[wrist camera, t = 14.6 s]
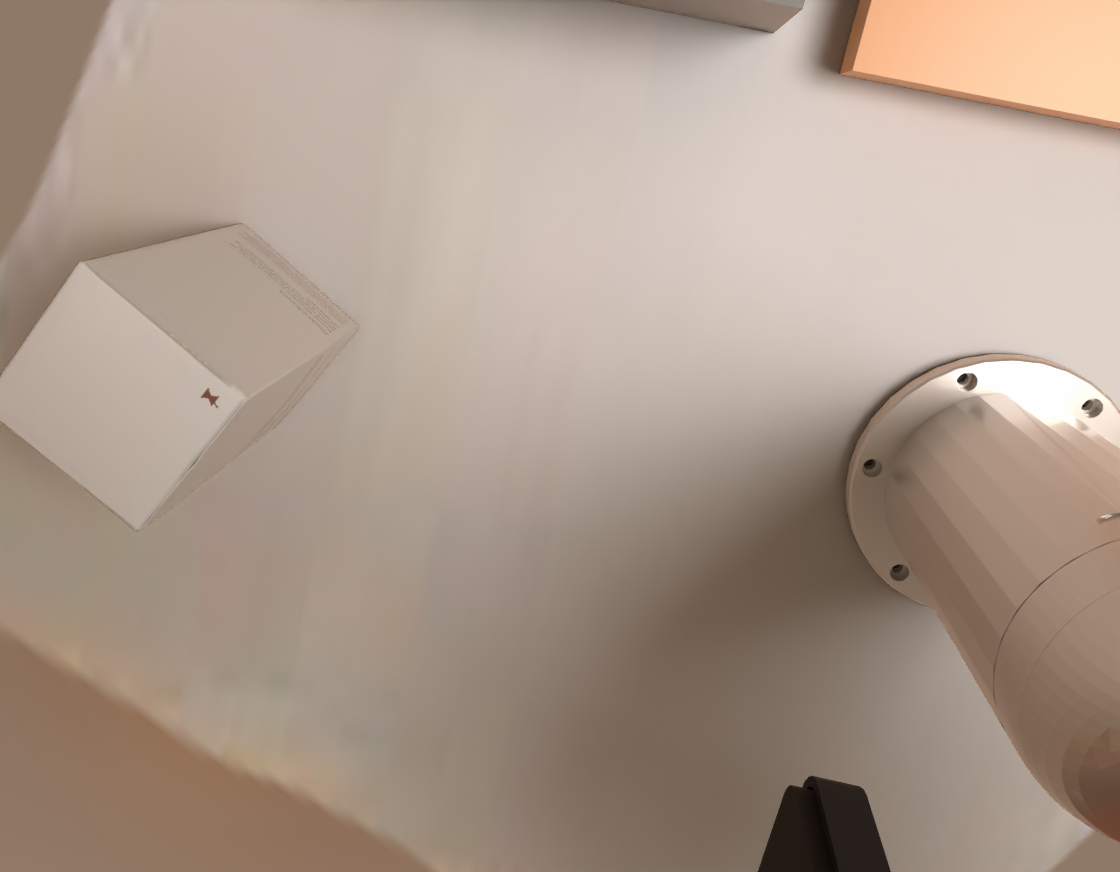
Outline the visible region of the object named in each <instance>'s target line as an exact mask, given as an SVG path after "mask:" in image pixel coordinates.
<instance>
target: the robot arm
mask: <svg viewBox="0 0 1120 872" xmlns="http://www.w3.org/2000/svg"><path fill="white" fill-rule="evenodd" d="M963 373H966V378H965V380H964V381H962V382H957V379H958V377H959V376H960V375H961V374H963ZM1087 400H1089V402H1088V404H1087V406H1085V407H1083V408H1082V405H1083V404H1084V403H1085V402H1086V401H1087ZM870 459H873V463H872V465H870V466H865V465H864V463H865V462H866V461H868V460H870ZM846 506H847V514H848V517H849V521H850V525H851V528H852V532H853V534H854V536H855V538H856V540H857V543H858V545H859V547H860V549H861V551H862V553H863V554H864V556H865V557H866V559H867V560H868V562H869V563H870V565H871V566H872V568H873V569H874V571H875V572H876V573H877V574H878V575H879V576H880V577H881V578H882V579H883V580H884V581H885V582H886V583H887V584H888V585H890V586H891V587H892V588H894V589H895V590H897V591H898V592H900V593H901V594H903V595H905V596H906V597H908V598H909V599H911V600H913V601H915V602H918V603H920V604H923V605H925V606H927V607H930V608H932V609H935V611H936V613H937V614H938V616H939V618H940V620H941V621H942V623H943V625H944V627H945V628H946V630H947V632H948V633H949V635H950V637H951V639H952V640H953V642H954V644H955V646H956V647H957V649H958V651H959V652H960V654H961V656H962V658H963V659H964V661H965V663H966V665H967V666H968V668H969V670H970V671H971V673H972V675H973V677H974V678H975V680H976V682H977V684H978V685H979V687H980V689H981V690H982V692H983V694H984V696H985V697H986V699H987V701H988V703H989V704H990V706H991V708H992V709H993V711H994V713H995V715H996V716H997V718H998V720H999V722H1000V723H1001V725H1002V727H1003V728H1004V730H1005V731H1006V733H1007V735H1008V737H1009V739H1010V740H1011V742H1012V744H1013V745H1014V747H1015V749H1016V751H1017V752H1018V754H1019V756H1020V757H1021V759H1022V760H1023V762H1024V764H1025V765H1026V767H1027V768H1028V770H1029V771H1030V772H1031V774H1032V775H1033V777H1034V778H1035V779H1036V780H1037V782H1038V783H1039V784H1040V785H1041V786H1042V788H1043V789H1044V790H1045V791H1046V792H1047V793H1048V794H1049V795H1050V796H1051V797H1052V798H1053V799H1054V800H1055V801H1056V802H1057V803H1058V804H1059V805H1060V806H1061V807H1063V808H1064V809H1065V810H1067V811H1068V812H1069V813H1070V814H1072V815H1073V816H1074V817H1076V818H1077V819H1079V820H1080V821H1082V822H1083V823H1085V824H1086V825H1088V826H1089V827H1091V828H1092V829H1094V830H1096V831H1097V832H1099V833H1101V834H1103V835H1105V836H1107V837H1109V838H1111V839H1113V840H1115V841H1117V842H1120V411H1119V410H1118V408H1117V407H1116V405H1115V404H1114V403H1113V401H1112V400H1111V399H1110V398H1109V397H1108V396H1107V395H1105V394H1104V393H1103V392H1102V391H1101V390H1100V389H1099V388H1097V387H1096V386H1095V385H1094V384H1093V383H1092V382H1090V381H1088V380H1087V379H1085V378H1083V377H1082V376H1080V375H1078V374H1077V373H1075V372H1074V371H1072V370H1069V369H1067V368H1065V367H1062V366H1060V365H1058V364H1055V363H1053V362H1050V361H1048V360H1044V359H1039V358H1034V357H1030V356H1025V355H1017V354H989V355H982V356H976V357H969V358H963V359H960V360H957V361H954V362H951V363H949V364H946V365H943V366H940V367H937V368H935V369H933V370H931V371H929V372H927V373H925V374H924V375H922V376H920V377H918V378H916V379H914V380H912V381H911V382H910V383H908V384H907V385H906V386H905V387H903V388H902V389H901V390H899V391H898V392H897V393H896V394H894V395H893V396H892V397H890V398H889V399H888V401H887V402H886V403H885V404H884V405H883V406H882V407H881V408H880V409H879V411H878V412H877V413H876V414H875V415H874V416H873V417H872V418H871V420H870V422H869V423H868V425H867V427H866V428H865V430H864V431H863V433H862V435H861V436H860V438H859V440H858V442H857V445H856V447H855V450H854V453H853V455H852V458H851V461H850V463H849V469H848V475H847V482H846ZM897 564H900V565H899V567H897V568H892V567H893V566H895V565H897ZM758 872H891V871H890V868H889V865H888V862H887V859H886V855H885V852H884V849H883V846H882V843H881V839H880V836H879V833H878V830H877V827H876V824H875V820H874V817H873V814H872V811H871V808H870V805H869V801H868V798H867V795H866V793H865V791H864V789H862V788H861V787H859V786H855V785H850V784H846V783H841V782H837V781H833V780H828V779H824V778H819V777H815V776H810V777H808V778H807V780H806V781H805V782H804V785H803V787H797V786H793V785H790V786H788V788H787V789H786V791H785V793H784V796H783V799H782V802H781V805H780V808H779V811H778V814H777V817H776V820H775V823H774V826H773V828H772V831H771V834H770V837H769V840H768V843H767V846H766V849H765V852H764V855H763V858H762V861H761V864H760V867H759V870H758Z"/></svg>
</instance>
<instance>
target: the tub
mask: <svg viewBox="0 0 1120 872" xmlns="http://www.w3.org/2000/svg"><path fill="white" fill-rule="evenodd" d="M609 1H614V2H619V3H624V4H629V5H634V6H639V7H644V8H649V9H654V10H659V11H664V12H669V13H674V14H679V15H684V16H689V17H695V18H700V19H705V20H710V21H715V22H720V23H725V24H730V25H735V26H740V27H745V28H750V29H755V30H760V31H765V32H770V33H774V32H775V31H777V30H778V29H779V28H780V27H781V26H783V25H784V24H785V23H786V22H787V21H789V20H790V19H791V18H792V17H793V16H795V15H796V14H797V13H798V12H799V11H801V10H802V9H803V5H804V1H805V0H609Z"/></svg>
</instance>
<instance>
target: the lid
mask: <svg viewBox="0 0 1120 872" xmlns="http://www.w3.org/2000/svg"><path fill="white" fill-rule="evenodd" d="M840 75H845V76H850V77H855V78H860V79H865V80H870V81H876V82H881V83H886V84H891V85H896V86H901V87H906V88H911V89H916V90H921V91H926V92H932V93H937V94H942V95H947V96H952V97H957V98H962V99H967V100H972V101H977V102H983V103H988V104H993V105H998V106H1003V107H1008V108H1013V109H1018V110H1023V111H1028V112H1034V113H1039V114H1044V115H1049V116H1054V117H1059V118H1064V119H1069V120H1074V121H1079V122H1085V123H1090V124H1095V125H1100V126H1105V127H1110V128H1115V129H1120V0H859V3H858V7H857V11H856V14H855V18H854V22H853V26H852V29H851V33H850V37H849V40H848V44H847V48H846V51H845V55H844V59H843V63H842V66H841V70H840Z"/></svg>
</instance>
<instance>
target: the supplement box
mask: <svg viewBox="0 0 1120 872" xmlns="http://www.w3.org/2000/svg"><path fill="white" fill-rule="evenodd" d="M358 329H359V327H358V325H357V324H355V323H354V322H353V321H352V320H351V319H350V318H349V317H348V316H347V315H346V314H344V313H343V312H342V311H341V310H340V309H339V308H338V307H337V306H336V305H334V304H333V303H332V302H331V301H330V300H329V299H328V298H327V297H325V296H324V295H323V294H322V293H321V292H320V291H319V290H318V289H317V288H316V287H314V286H313V285H312V284H311V283H310V282H309V281H307V280H306V279H305V278H304V277H303V276H302V275H301V274H300V273H299V272H298V271H296V270H295V269H294V268H293V267H292V266H291V265H290V264H288V263H287V262H286V261H285V260H284V259H283V258H282V257H281V256H279V255H278V254H277V253H276V252H275V251H274V250H273V249H271V248H270V247H269V246H268V245H267V244H266V243H265V242H264V241H263V240H262V239H260V238H259V237H258V236H257V235H256V234H254V233H253V232H252V231H251V230H250V229H249V228H247V227H246V226H245V225H243V224H236V225H232V226H228V227H224V228H220V229H215V230H211V231H207V232H203V233H199V234H195V235H191V236H186V237H182V238H178V239H174V240H170V241H166V242H162V243H158V244H154V245H149V246H145V247H141V248H137V249H133V250H129V251H125V252H120V253H116V254H112V255H108V256H103V257H99V258H95V259H91V260H86V261H80V262H79V263H78V264H77V265H76V267H75V268H74V270H73V271H72V272H71V274H70V275H69V277H68V278H67V280H66V281H65V283H64V284H63V285H62V287H61V288H60V289H59V291H58V292H57V294H56V295H55V297H54V298H53V300H52V301H51V302H50V304H49V305H48V307H47V308H46V310H45V311H44V313H43V314H42V315H41V317H40V318H39V320H38V321H37V323H36V324H35V326H34V327H33V329H32V330H31V331H30V333H29V334H28V336H27V337H26V339H25V340H24V342H23V343H22V344H21V346H20V347H19V349H18V350H17V352H16V353H15V355H14V356H13V358H12V359H11V361H10V362H9V364H8V365H7V366H6V368H5V369H4V371H3V372H2V374H1V375H0V421H1V422H2V423H3V424H5V425H6V426H7V427H8V428H10V429H11V430H12V431H13V432H15V433H16V434H17V435H18V436H20V437H21V438H22V439H23V440H25V441H26V442H27V443H28V444H30V445H31V446H32V447H33V448H35V449H36V450H37V451H38V452H39V453H41V454H42V455H43V456H44V457H46V458H47V459H48V460H49V461H51V462H52V463H53V464H54V465H56V466H57V467H58V468H59V469H61V470H62V471H63V472H64V473H66V474H67V475H68V476H70V477H71V478H72V479H73V480H75V481H76V482H77V483H79V484H80V485H81V486H82V487H83V488H84V489H86V490H87V491H88V492H89V493H90V494H91V495H93V496H94V497H95V498H96V499H97V500H99V501H100V502H101V503H102V504H103V505H104V506H106V507H107V508H108V509H109V510H110V511H112V512H113V513H114V514H115V515H116V516H118V517H119V518H120V519H121V520H123V521H124V522H125V523H126V524H127V525H128V526H129V527H131V528H132V529H133V530H134V531H140V530H142V529H144V528H145V527H146V526H148V525H149V524H150V523H152V522H153V521H155V520H156V519H157V518H159V517H160V516H162V515H163V514H164V513H166V512H167V511H168V510H170V509H171V508H172V507H173V506H175V505H176V504H177V503H179V502H180V501H181V500H182V499H184V498H185V497H186V496H188V495H189V494H190V493H191V492H193V491H194V490H195V489H196V488H198V487H199V486H200V485H201V484H203V483H204V482H205V481H206V480H208V479H209V478H210V477H212V476H213V475H214V474H215V473H217V472H218V471H219V470H221V469H222V468H223V467H224V466H226V465H227V464H228V463H229V462H231V461H232V460H233V459H234V458H236V457H237V456H238V455H240V454H241V453H242V452H243V451H245V450H246V449H247V448H248V447H250V446H251V445H252V444H254V443H255V442H257V441H258V440H259V439H261V438H262V437H263V436H265V435H266V434H267V433H269V432H270V431H271V430H272V429H274V428H275V427H276V426H277V425H278V424H279V423H280V422H281V420H282V419H283V418H284V417H285V416H286V415H287V414H288V413H289V412H290V410H291V409H292V408H293V407H294V406H295V405H296V403H297V402H298V401H299V400H300V399H301V398H302V396H303V395H304V394H305V393H306V392H307V391H308V389H309V388H310V387H311V386H312V385H313V383H314V382H315V381H316V380H317V379H318V377H319V376H320V375H321V374H322V373H323V371H324V370H325V369H326V368H327V366H328V365H329V364H330V363H331V362H332V360H333V359H334V358H335V357H336V356H337V354H338V353H339V352H340V351H341V350H342V348H343V347H344V346H345V345H346V344H347V342H348V341H349V340H350V339H351V338H352V336H353V335H354V334H355V333H356V332H357V330H358Z"/></svg>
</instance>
